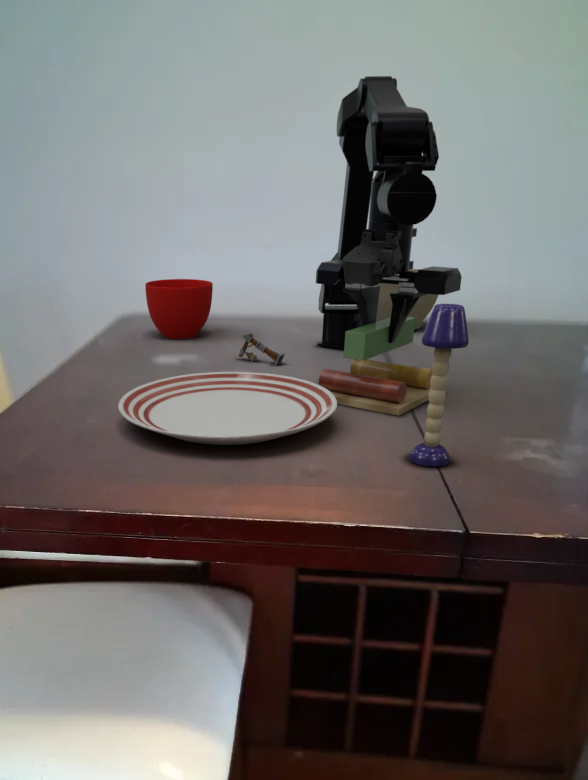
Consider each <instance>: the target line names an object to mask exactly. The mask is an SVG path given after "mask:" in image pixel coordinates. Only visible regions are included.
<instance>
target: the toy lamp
mask: <svg viewBox="0 0 588 780" xmlns="http://www.w3.org/2000/svg"><path fill="white" fill-rule="evenodd" d="M421 344H422V345H423V346H425V347H429V348H434V351H433V359H434V360H433V362H432V365H431V369H432V372H433V375H432V377H431V381H430V386H431V390H430V392H429V400H428V405H427V408H426V415H427V418H426V420H425V430H426V431H425V433H424V437H423V442H422V443H419V444H417V445H416V446H415V447H413V449H412V450H411V452H410V455H409V461H410V462H411V463H413V464H416V465H419V466H424V467H442V466H446V465H448V464H449V463H450V460H451V459H450V454H449V451H448V450H447V449H446V447H444V445H441V444H440V443H441V440H442V435H441V431H442V429H443V424H444V423H443V416H444V414H445V404H444V403H445V401H446V398H447V392H446V388H447V386H448V381H449V380H448V374H449V372H450V365H451V364H450V359H451V357H452V354H453V350H455V349H463V348H467V346H468V345H469V331H468V323H467V316H466V309H465V307H464V306H463V304H459V303H458V304H457V303H438V304H434V306H433V308H432V310H431V312H430V316H429V318H428V321H427V324H426V326H425V329H424V332H423V334H422V338H421Z"/></svg>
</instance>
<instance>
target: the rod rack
mask: <svg viewBox="0 0 588 780" xmlns="http://www.w3.org/2000/svg"><path fill="white" fill-rule="evenodd" d="M349 367H350V368H349V372H345V371H340V370H333V369H328V368H324V369H322V370H321V372H320V374H319V376H318V385H320V386H322V387H324V388H326V389H327V390H329V391H330V392H331V393H332V394H333V395H334V396H335V398H336V400H337V405H341V406H347V407H351V408H356V409H362V410H368V411H372V412H377V413H382V414H388V415H393V416H398V417H399V416H402V415H403V414H405V413H407V412H409V411H411V410H413V409H415V408H417V407H418V406H421V405H422V404H424V403H427V402H429V392H430V390H431V386H430V381H431V377H432V375H433V372H432V368H427V367H426V368H425V367H419V366H414V365H408V364H407V365H405V364H399V363H393V362H386V361H379V360H372V359H366V360H364V361H362V360H356V359H352V361H351V364H350V366H349Z"/></svg>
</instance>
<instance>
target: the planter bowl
mask: <svg viewBox="0 0 588 780" xmlns="http://www.w3.org/2000/svg"><path fill="white" fill-rule="evenodd" d="M419 269H420V268H413V269H410V270H409V271H417V272H418V270H419ZM378 286H380V293H379V301H378V309H377V317H376V322H378V321H381V320H384V319H387V318H391V312H392V300H391V297H390V293H394V292H398V289H399V287H398V284H386V283H379V284H378ZM438 297H439V295H433V294H427V295H424V296H420V298H419V299H418V301H417V302H416V304H415V305H414V307H413V308H412V310H411V311H410V313H409V315H408V317H414V318H415V326H414V330H418V329H421V328H422V325H423V321H424V320H425V319H426V318H427V317H428V315H429V314H431V312H432V310H433V308H434V306H435V305H436V302H437V299H438Z"/></svg>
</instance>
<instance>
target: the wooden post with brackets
mask: <svg viewBox="0 0 588 780" xmlns="http://www.w3.org/2000/svg"><path fill="white" fill-rule="evenodd" d="M242 337H243V340H245V341H244V343H243V346H242V348H240V351H239V353H238V357H239V358H243V357H244V355H245V357H246V356H247V360H248V359H249V360H250V361H251V362H258V361H259V358H258V355H255V354H253V352H248V351H247V349H248V348H250V347H252V346H254V348H255V349H257V350H258V351H260V352H261V353H262V354H265V355H267V356H268V357H269V358H271V359H272V360H273V361H274V364H273V365H275V366H277V365H280V364H282V361H283V360H284V357H285V355H286V353H283V352H282V353H278V352H275V351H273V350H272V349H270V348H269V347H268V346H267V345H265V344H264V343H262V342H261V341H259V340H257V339H256V338H255V337H254V334H253V333H249V332H248V333H246V332H244V333H243V334H242ZM249 344H250V345H249Z"/></svg>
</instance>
